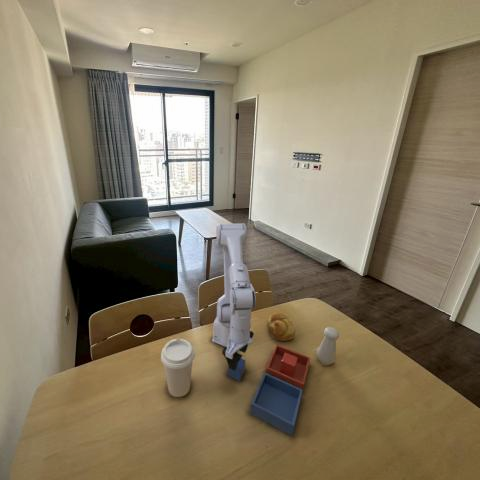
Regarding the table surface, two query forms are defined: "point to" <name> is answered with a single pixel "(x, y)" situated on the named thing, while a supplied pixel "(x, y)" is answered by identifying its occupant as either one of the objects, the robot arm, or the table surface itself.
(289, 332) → the bread roll
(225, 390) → the table surface
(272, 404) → the blue bin
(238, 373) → the blue block
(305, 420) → the table surface
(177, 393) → the coffee cup
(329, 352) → the salt shaker
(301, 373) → the red bin
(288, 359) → the red block
